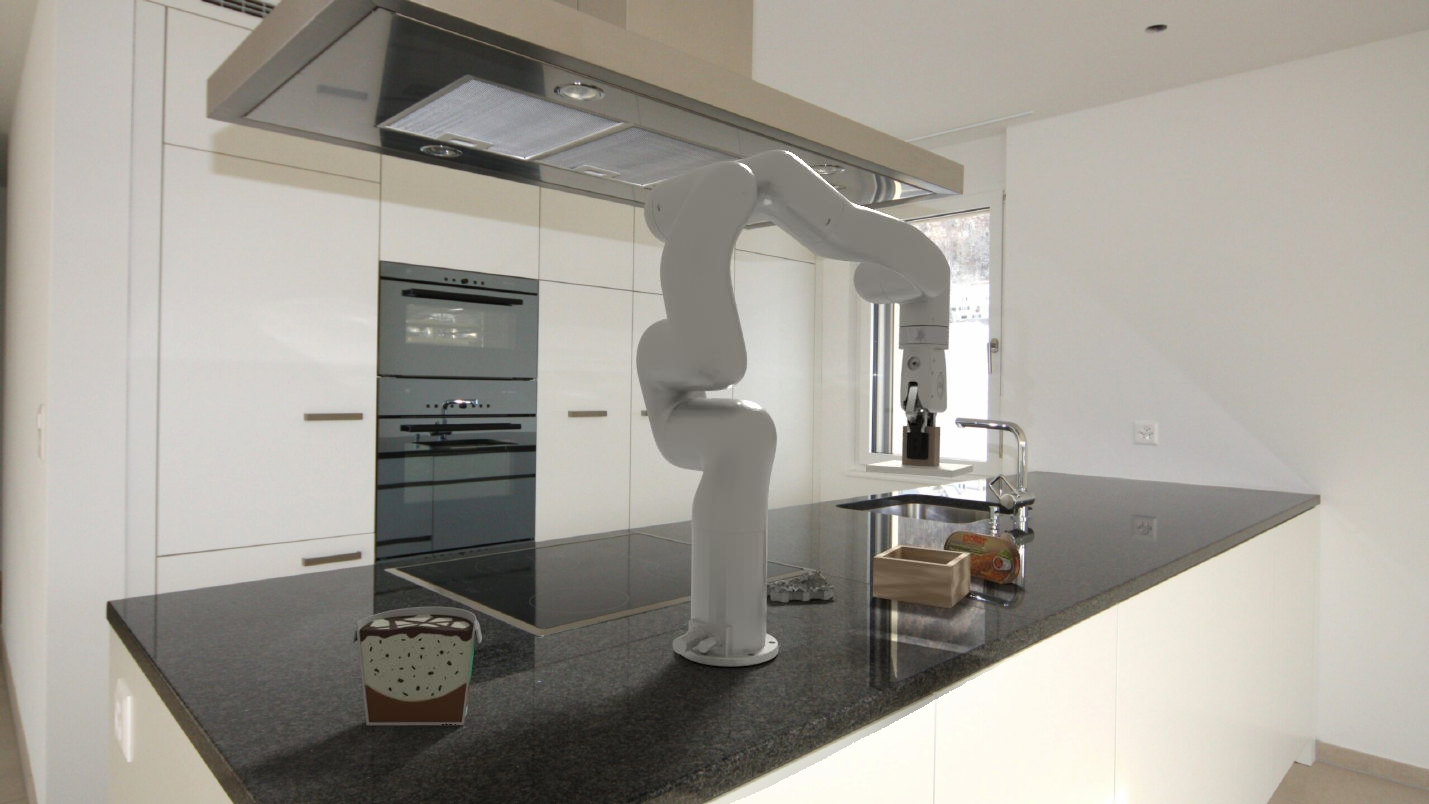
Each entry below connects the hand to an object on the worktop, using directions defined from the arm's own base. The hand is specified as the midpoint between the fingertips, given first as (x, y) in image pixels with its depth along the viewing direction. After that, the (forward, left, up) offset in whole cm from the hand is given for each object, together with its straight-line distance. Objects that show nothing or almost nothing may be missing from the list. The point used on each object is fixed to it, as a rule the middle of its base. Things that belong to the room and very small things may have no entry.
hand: (920, 457), depth 124 cm
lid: (0, 0, -2) cm, 2 cm away
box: (+3, 0, -23) cm, 23 cm away
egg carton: (-9, +16, -23) cm, 30 cm away
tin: (+21, -5, -23) cm, 31 cm away
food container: (-69, +29, -23) cm, 79 cm away
